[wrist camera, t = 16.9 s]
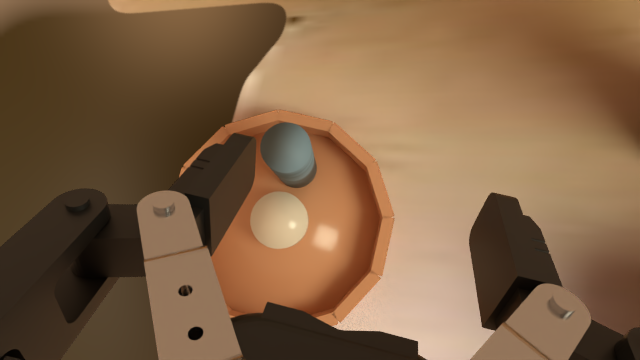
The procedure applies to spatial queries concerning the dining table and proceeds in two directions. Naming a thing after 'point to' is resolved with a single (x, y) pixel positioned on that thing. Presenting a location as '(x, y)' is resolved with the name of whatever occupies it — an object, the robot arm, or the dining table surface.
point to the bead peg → (289, 154)
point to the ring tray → (305, 227)
